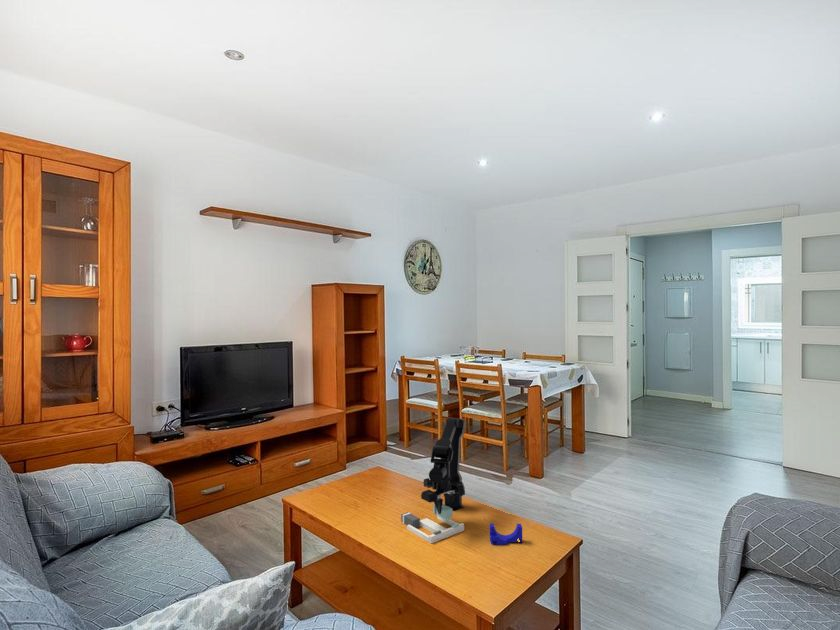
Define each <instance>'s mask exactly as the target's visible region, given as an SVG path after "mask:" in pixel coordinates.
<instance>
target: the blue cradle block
mask: <svg viewBox="0 0 840 630" xmlns="http://www.w3.org/2000/svg"><path fill="white" fill-rule="evenodd" d="M515 527H516V528H515V530H514V531H513V532H511V533H509V534H505V535H504V534H501V533H499V532H498V531H497V529H496V528H495V524H494V523H489V540H490V541H489V542H490V544H491V545H493V546H496V545H497V546H498V545H499V546H501V545H502V546H503V545H504V546H505V545H506V546H507V545H508V544H511V543H510V542H518V541H517V539H518V538H519V540H520V542H522V543H523V525H522V524H521V523H516V526H515Z"/></svg>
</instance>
